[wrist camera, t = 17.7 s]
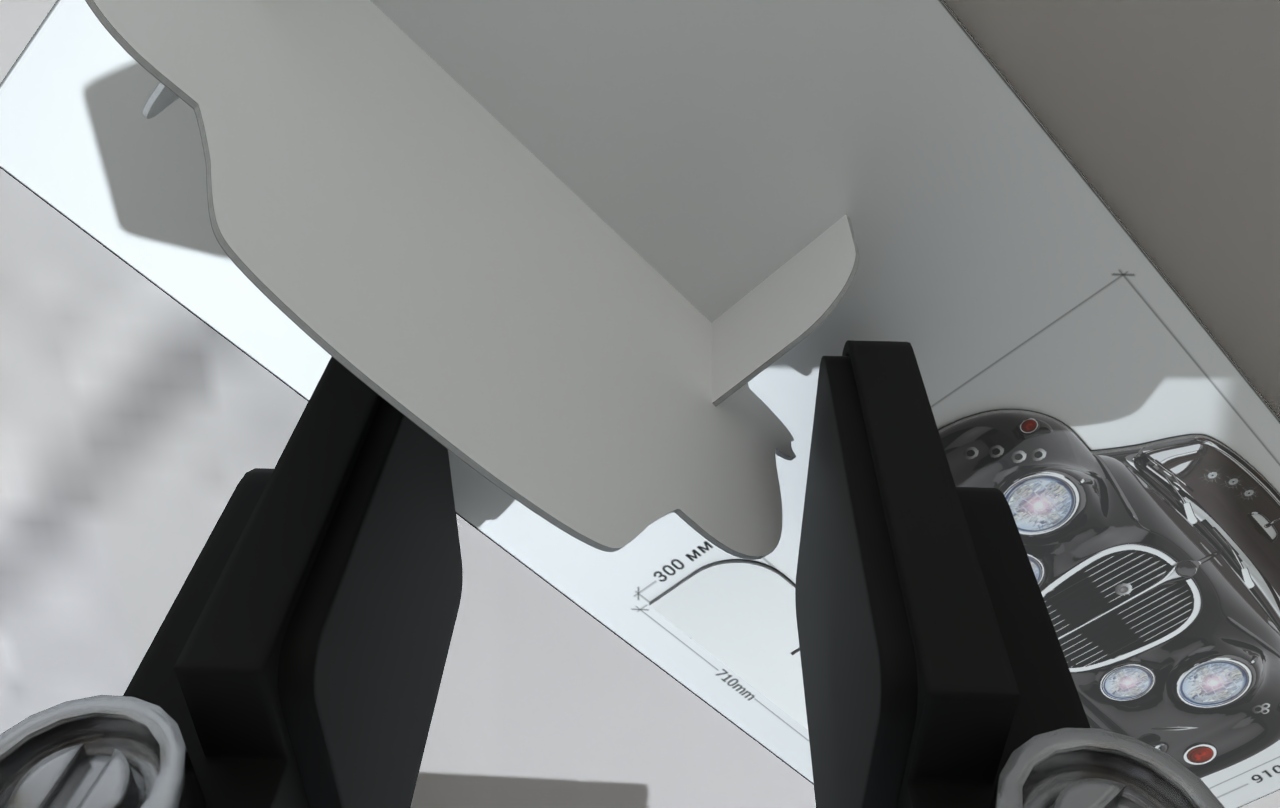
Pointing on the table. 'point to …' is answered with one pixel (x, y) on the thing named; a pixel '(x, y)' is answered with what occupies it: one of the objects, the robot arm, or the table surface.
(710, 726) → the table surface
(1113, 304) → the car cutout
